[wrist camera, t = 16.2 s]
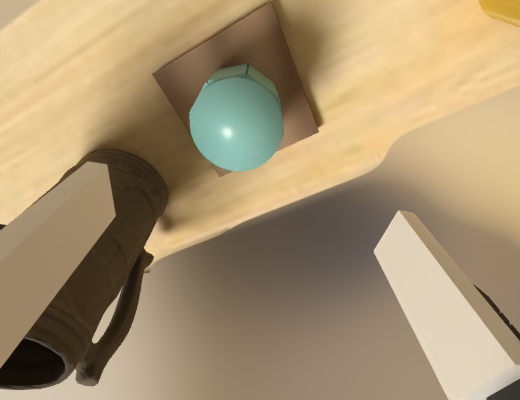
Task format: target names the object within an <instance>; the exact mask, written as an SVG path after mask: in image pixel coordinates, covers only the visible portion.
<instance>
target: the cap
mask: <svg viewBox="0 0 520 400" xmlns="http://www.w3.org/2000/svg"><path fill="white" fill-rule="evenodd" d="M189 114H190V115H189V119H190V130H191V135H192V138H193V141H194V143H195V145H196V147H197V148H198V150H199V151H200V152H201V154H202V155H203V156H204V157H205V158H206V159H208V160H209V161H210V162H212V163H213V164H215V165H217V166H219V167H221V168H224V169H228V170H233V171H244V170H250V169H253V168H256V167H258V166H260V165H262V164H263V163H265V162H266V161H267V160H269V159H270V158H271V157H272V156H273V154H274V153H275V152H276V150H277V148H278V146H279V144H280V142H281V139H282V138H283V137H284V136H283V134H284V127H283V119H282V112H281V104H280V98H279V95H278V92H277V89H276V86H275V85H274V82H273V81H271V80H270V79H269V78H267V77H266V76H265V75H263V74H262V73H261V72H260V71H258V70H257V69H256V68H254V67H253V66H252V65H251V64H249V66H248V64H247V63H246V64H241V65H236V66H232V67H227V68H222V69H218V70H217V71H216V72H215V73H214V74H213V75H212V76H211V77H210V78H209V79H208V80H207V81H206V82H205V84H204V86H203V88H202V90H201V92H200V94H199V96H198V97H197V99H196V101H195V103H194V105H193V107H192V109H191V111H190V112H189Z"/></svg>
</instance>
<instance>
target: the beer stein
mask: <svg viewBox="0 0 520 400" xmlns="http://www.w3.org/2000/svg"><path fill="white" fill-rule="evenodd" d="M86 162H95V163H101V164H107V166H108V172H109V178H110V184H111V190H112V196H113V202H114V208H115V214H116V216H115V218H114V219H113V220H112V222H111V223H110V224H109V225H108V227H107V228H106V229H105V231H104V232H103V233H102V235H101V236H100V237H99V239H98V240H97V241H96V243H95V244H94V245H93V247H92V248H91V249H90V251H89V252H88V253H87V255H86V256H85V257H84V258H83V260H82V261H81V262H80V264H79V265H78V266H77V268H76V269H75V270H74V272H73V273H72V274H71V276H70V277H69V278H68V280H67V281H66V282H65V284H64V285H63V286H62V288H61V289H60V290H59V291H58V293H57V294H56V295H55V297H54V298H53V299H52V301H51V302H50V303H49V305H48V306H47V307H46V309H45V310H44V311H43V313H42V314H41V315H40V317H39V318H38V319H37V321H36V322H35V323H34V325H33V326H32V327H31V328H30V330H29V331H28V332H27V334H26V335H25V336H24V338H23V339H22V340H21V342H20V343H19V344H18V346H17V347H16V348H15V350H14V351H13V352H12V354H11V355H10V356H9V358H8V359H7V360H6V361H5V363H4V364H3V365H2V367H1V368H0V389H9V390H11V389H12V390H28V389H42V388H46V387H50V386H54V385H56V384H59V383H61V382H62V381H64V380H65V379H67V378H68V376H69V375H70V374H71V373H72V372H73V370H74V369H76V371H77V374H76V381H77V383H79V384H82V385H85V386H95V385H96V384H98V382H99V379H100V377H101V374H102V372H103V369H104V367H105V366H106V364H107V362H108V361H109V359H110V358H111V357H112V355H113V354H114V353H115V351H116V350H117V349H118V347H119V346H120V345H121V343H122V342H123V340H124V339H125V337H126V336H127V334H128V332H129V330H130V328H131V325H132V322H133V320H134V316H135V313H136V310H137V305H138V301H139V296H140V290H141V283H142V277H143V273H144V269H145V268H146V267H148V266H149V265H150V264H151V263H152V261H153V258H154V256H153V255H152V254H150V253H147V252H146V251H145V249H144V246H145V244H146V241H147V240H148V238H149V236H150V234H151V232H152V230H153V228H154V226H155V224H156V221H157V219H158V218H159V217H160V216H161V214H162V213H163V211H164V209H165V207H166V204H167V191H166V187H165V184H164V182H163V181H162V179H161V177H160V176H159V175H158V173H157V172H156V171H155V170H154V169H153V168H152V167H151V166H150V165H149V164H147V163H146V162H145V161H143V160H142V159H140V158H138V157H136V156H134V155H131V154H129V153H126V152H122V151H116V150H101V151H95V152H93V153H91V154H88V155H87V156H85V157H84V158H82V159H81V160H80V161H79V162H78V163H77V165H76V166H73V167H72V168H71V169H69V170H68V171H67V172H66V173H65V174H64V175H63V177H62V178H61V179H60V181H59V182H58V183H57V184H56V185H55V186H53V187H52V188H51V189H50V190H49V191H47V192H46V193H45V194H44V195H42V196H41V197H40V198H39V199H38V200H40V199H41V198H42V197H43V196H45V195H46V194H47V193H48V192H50V191H51V190H52V189H53V188H55V187H56V186H57V185H59V184H60V183H61V182H62V181H64V180H65V179H66V178H67V177H69V176H70V175H71V174H72V173H74V172H75V171H76V170H78V169H79V168H80V167H81V166H83V165H84V164H85V163H86ZM38 200H37V201H38ZM37 201H36V202H37ZM36 202H34V203H36ZM34 203H33V204H34ZM33 204H32V205H33ZM32 205H31V206H32ZM31 206H30V207H31ZM27 209H28V208H27ZM27 209H26V210H27ZM26 210H25V211H26ZM122 286H123V288H122ZM121 288H122V291H121V294H120V297H119V300H118V304H117V306H116V309H115V312H114V315H113V317H112V320H111V322H110V324H109V326H108V328H107V330H106V331H105V333H104V335H103V336H102V337H101V339H100V340H99V342H97V343H95V344H94V343H93V342H92V338H93V336H94V333H95V331H96V329H97V326H98V325H99V323H100V320H101V318H102V316H103V314H104V312H105V311H106V309H107V308H108V307H109V305H110V304H111V303H112V302H113V301H114V299H115V298H116V297H117V295H118V294H119V292H120V290H121Z"/></svg>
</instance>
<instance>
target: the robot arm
mask: <svg viewBox="0 0 520 400" xmlns="http://www.w3.org/2000/svg"><path fill="white" fill-rule="evenodd" d="M115 216H116V214H115V208H114V202H113V196H112V190H111V184H110V178H109V172H108V166H107V164H101V163H95V162H86V163H85V164H84V165H83V166H81V167H80V168H79V169H78V170H76V171H75V172H74V173H72V174H71V175H70V176H69V177H67V178H66V179H65V180H64V181H62V182H61V183H60V184H59V185H57V186H56V187H55V188H53V189H52V190H51V191H50V192H48V193H47V194H46V195H45V196H43V197H42V198H41V199H40V200H38V201H37V202H36V203H34V204H33V205H32V206H31V207H29V208H28V209H27V210H26V211H24V212H23V213H22V214H20V215H19V216H18V217H17V218H15V219H14V220H13V221H12V222H10V223H9V224H8V225H2V224H0V368H1V367H2V365H3V364H4V363H5V361H6V360H7V359H8V358H9V356H10V355H11V354H12V352H13V351H14V350H15V348H16V347H17V346H18V344H19V343H20V342H21V340H22V339H23V338H24V336H25V335H26V334H27V332H28V331H29V330H30V328H31V327H32V326H33V325H34V323H35V322H36V321H37V319H38V318H39V317H40V315H41V314H42V313H43V311H44V310H45V309H46V307H47V306H48V305H49V303H50V302H51V301H52V299H53V298H54V297H55V295H56V294H57V293H58V291H59V290H60V289H61V288H62V286H63V285H64V284H65V282H66V281H67V280H68V278H69V277H70V276H71V274H72V273H73V272H74V270H75V269H76V268H77V266H78V265H79V264H80V262H81V261H82V260H83V258H84V257H85V256H86V255H87V253H88V252H89V251H90V249H91V248H92V247H93V245H94V244H95V243H96V241H97V240H98V239H99V237H100V236H101V235H102V233H103V232H104V231H105V229H106V228H107V227H108V225H109V224H110V223H111V222H112V220H113V219H114V218H115ZM374 253H375V255H376V257H377V259H378V261H379V263H380V265H381V267H382V269H383V271H384V273H385V275H386V277H387V279H388V281H389V283H390V285H391V287H392V288H393V291H394V293H395V295H396V297H397V299H398V301H399V303H400V304H401V307H402V309H403V311H404V312H405V314H406V317H407V318H408V320H409V322H410V324H411V326H412V328H413V330H414V332H415V334H416V336H417V338H418V340H419V342H420V344H421V346H422V348H423V350H424V352H425V354H426V356H427V358H428V360H429V362H430V364H431V366H432V368H433V370H434V372H435V374H436V376H437V378H438V380H439V382H440V384H441V386H442V388H443V389H444V392H445V394H446V395H447V398H448V399H449V400H485V399H487V400H520V333H519V332H518V331H517V330H516V329H515V327H514V326H513V325H510V324H509V320H508V319H507V318H506V317H505V316H504V314H503V313H500V310H499V309H498V307H497V306H496V305H495V304H494V303H493V301H492V300H491V299H490V298H489V297H488V296H487V295H486V294H485V293H483V292H482V291H481V290H480V289H479V288H477V287H476V286H475V285H474V284H472V283H471V282H470V280H469V279H468V278H467V277H466V275H465V274H464V273H463V272H462V271H461V269H460V268H459V267H458V266H457V265H456V263H455V262H454V261H453V260H452V259H451V257H450V256H449V255H448V254H447V253H446V251H445V250H444V249H443V248H442V247H441V245H440V244H439V243H438V242H437V241H436V239H435V238H434V237H433V236H432V234H431V233H430V232H429V231H428V229H427V228H426V227H425V226H424V225H423V223H422V222H421V221H420V220H419V219H418V217H417V216H416V215H415V214H414V213H413V212H406V211H400V210H398V212H397V214H396V215H395V217H394V219H393V220H392V222H391V223H390V225H389V227H388V228H387V230H386V232H385V233H384V235H383V237H382V238H381V240H380V242H379V243H378V245H377V246H376V248H375V250H374Z"/></svg>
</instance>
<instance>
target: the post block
mask: <svg viewBox="0 0 520 400" xmlns="http://www.w3.org/2000/svg"><path fill="white" fill-rule="evenodd" d="M246 63H247V64H248V66H249V64H251V65H252V66H253V67H254V68H256V69H257V70H258V71H260V72H261V73H262V74H263V75H265V76H266V77H267V78H269V79H270V80H271V81H273V82H274V85H275V86H276V89H277V92H278V95H279V98H280V104H281V112H282V119H283V127H284V134H283V136H284V137H283V138H282V139H281V142H280V144H279V146H278V148H277V150H276V151H278V150H281V149H283V148H285V147H287V146H289V145H292V144H294V143H296V142H298V141H300V140H303V139H305V138H307V137H309V136H311V135H314V134H316V133H318V132H319V131H318V128H317V126H316V123H315V120H314V117H313V115H312V112H311V109H310V106H309V104H308V101H307V98H306V96H305V93H304V90H303V87H302V85H301V82H300V79H299V77H298V74H297V71H296V68H295V66H294V63H293V60H292V58H291V55H290V52H289V49H288V47H287V44H286V41H285V38H284V36H283V33H282V30H281V28H280V25H279V22H278V19H277V17H276V14H275V11H274V9H273V6H272V3H271V2H270V3H268V4H266V5H265V6H263V7H261V8H260V9H258V10H257V11H255V12H253V13H252V14H250V15H248V16H247V17H245V18H243V19H242V20H240V21H238V22H237V23H235V24H234V25H232V26H230V27H229V28H227V29H225V30H224V31H222V32H220V33H219V34H217V35H216V36H214V37H212V38H211V39H209V40H207V41H206V42H204V43H202V44H201V45H199V46H198V47H196V48H194V49H193V50H191V51H189V52H188V53H186V54H184V55H183V56H181V57H179V58H178V59H176V60H175V61H173V62H171V63H170V64H168V65H166V66H165V67H163V68H161V69H160V70H158V71H157V72H155V73H153V74H152V75H153V76H154V78H155V79H156V81H157V82H158V84H159V85H160V87H161V88H162V90H163V91H164V93H165V94H166V96H167V97H168V99H169V100H170V102H171V103H172V105H173V106H174V108H175V110H176V111H177V113H178V114H179V116H180V117H181V119H182V120H183V122H184V123H185V125H186V126H187V128H188V129H189V131H190V132H191V130H190V119H189V115H190V114H189V112H190V111H191V109H192V107H193V105H194V103H195V101H196V99H197V97H198V96H199V94H200V92H201V90H202V88H203V86H204V84H205V82H206V81H207V80H208V79H209V78H210V77H211V76H212V75H213V74H214V73H215V72H216V71H217V70H218V69H222V68H227V67H232V66H236V65H241V64H246ZM210 163H211V164H212V166H213V167H214V169H215V170H216V172H217V173H218V175H219V176H220V177H221V176H224V175H226V174H228V173H230V172H232V171H233V170H228V169H224V168H221V167H219V166H217V165H215V164H213V163H212V162H210Z"/></svg>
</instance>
